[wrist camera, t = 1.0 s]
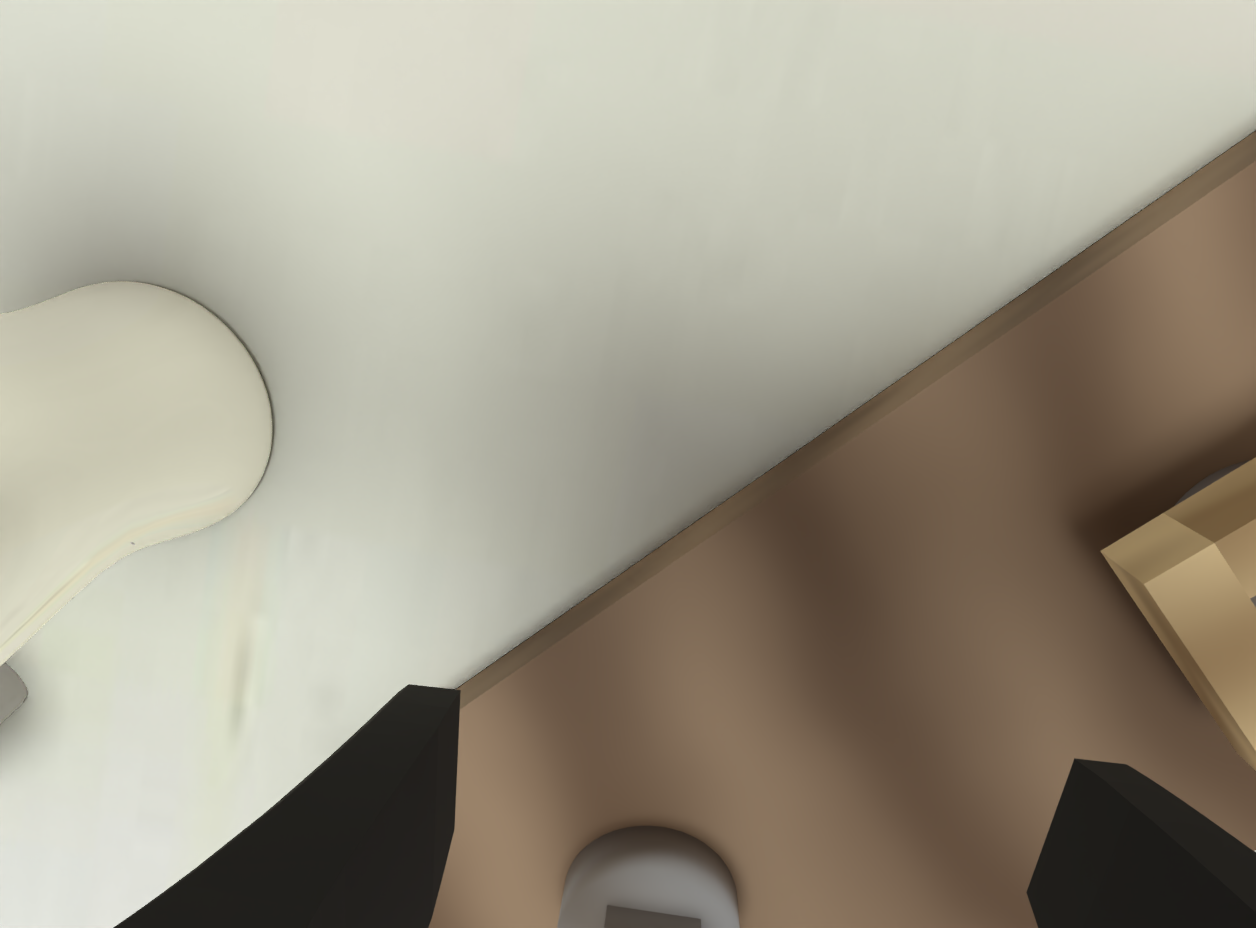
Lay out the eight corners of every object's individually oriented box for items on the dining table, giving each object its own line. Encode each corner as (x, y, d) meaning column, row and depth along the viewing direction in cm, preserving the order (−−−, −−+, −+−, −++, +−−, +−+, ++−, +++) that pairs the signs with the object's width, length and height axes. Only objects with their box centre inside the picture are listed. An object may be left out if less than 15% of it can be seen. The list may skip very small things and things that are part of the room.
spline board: (1302, 98, 16) (1648, 24, 10) (1581, 618, 18) (1978, 789, 13) (333, 774, 22) (214, 963, 16) (649, 1092, 24) (639, 1350, 19)
